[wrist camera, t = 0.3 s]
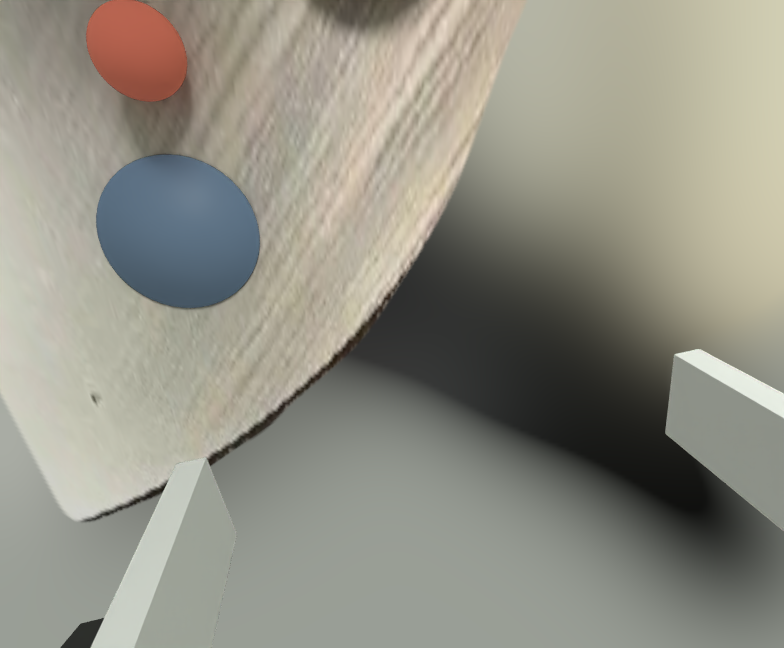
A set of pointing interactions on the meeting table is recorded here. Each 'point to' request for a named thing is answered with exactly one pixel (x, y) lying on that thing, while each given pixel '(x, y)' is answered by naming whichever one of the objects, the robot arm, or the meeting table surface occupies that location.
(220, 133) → the meeting table surface
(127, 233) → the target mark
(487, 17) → the meeting table surface
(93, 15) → the ball
